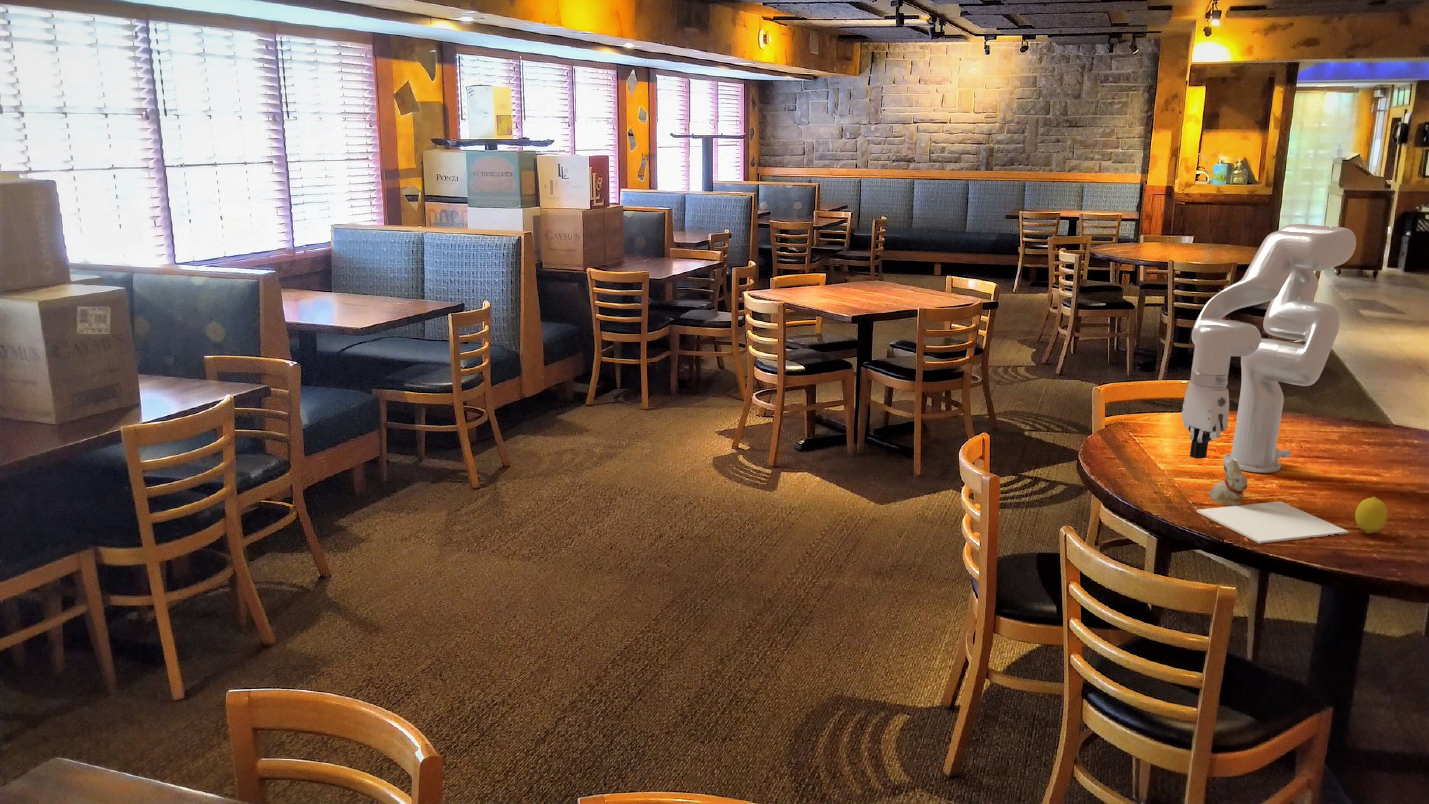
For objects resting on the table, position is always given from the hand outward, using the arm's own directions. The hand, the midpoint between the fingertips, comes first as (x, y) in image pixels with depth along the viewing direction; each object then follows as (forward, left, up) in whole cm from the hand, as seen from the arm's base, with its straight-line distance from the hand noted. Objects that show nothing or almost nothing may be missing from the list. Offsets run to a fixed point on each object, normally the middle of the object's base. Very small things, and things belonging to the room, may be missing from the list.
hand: (1197, 457), depth 237 cm
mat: (0, +23, -7) cm, 24 cm away
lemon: (-15, +33, -7) cm, 37 cm away
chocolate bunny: (0, +10, -7) cm, 13 cm away
